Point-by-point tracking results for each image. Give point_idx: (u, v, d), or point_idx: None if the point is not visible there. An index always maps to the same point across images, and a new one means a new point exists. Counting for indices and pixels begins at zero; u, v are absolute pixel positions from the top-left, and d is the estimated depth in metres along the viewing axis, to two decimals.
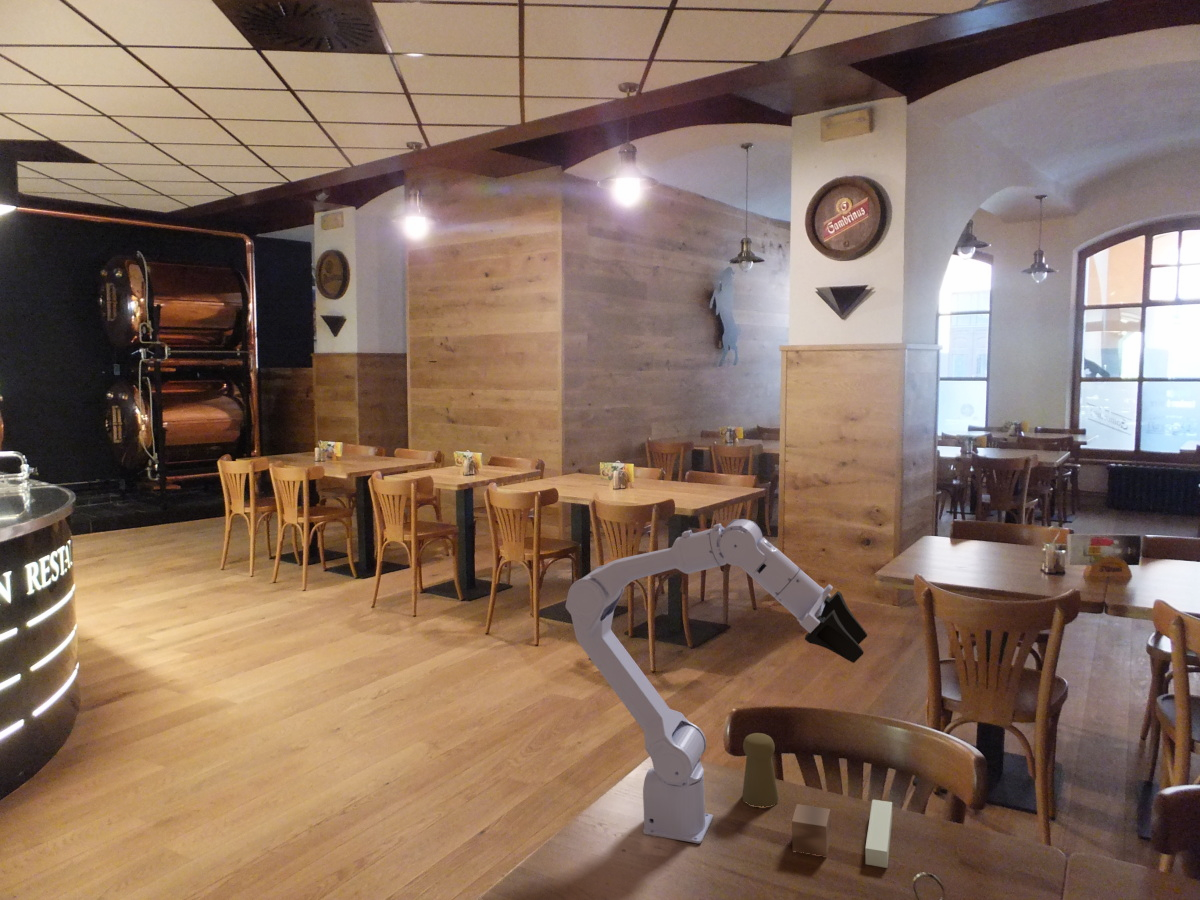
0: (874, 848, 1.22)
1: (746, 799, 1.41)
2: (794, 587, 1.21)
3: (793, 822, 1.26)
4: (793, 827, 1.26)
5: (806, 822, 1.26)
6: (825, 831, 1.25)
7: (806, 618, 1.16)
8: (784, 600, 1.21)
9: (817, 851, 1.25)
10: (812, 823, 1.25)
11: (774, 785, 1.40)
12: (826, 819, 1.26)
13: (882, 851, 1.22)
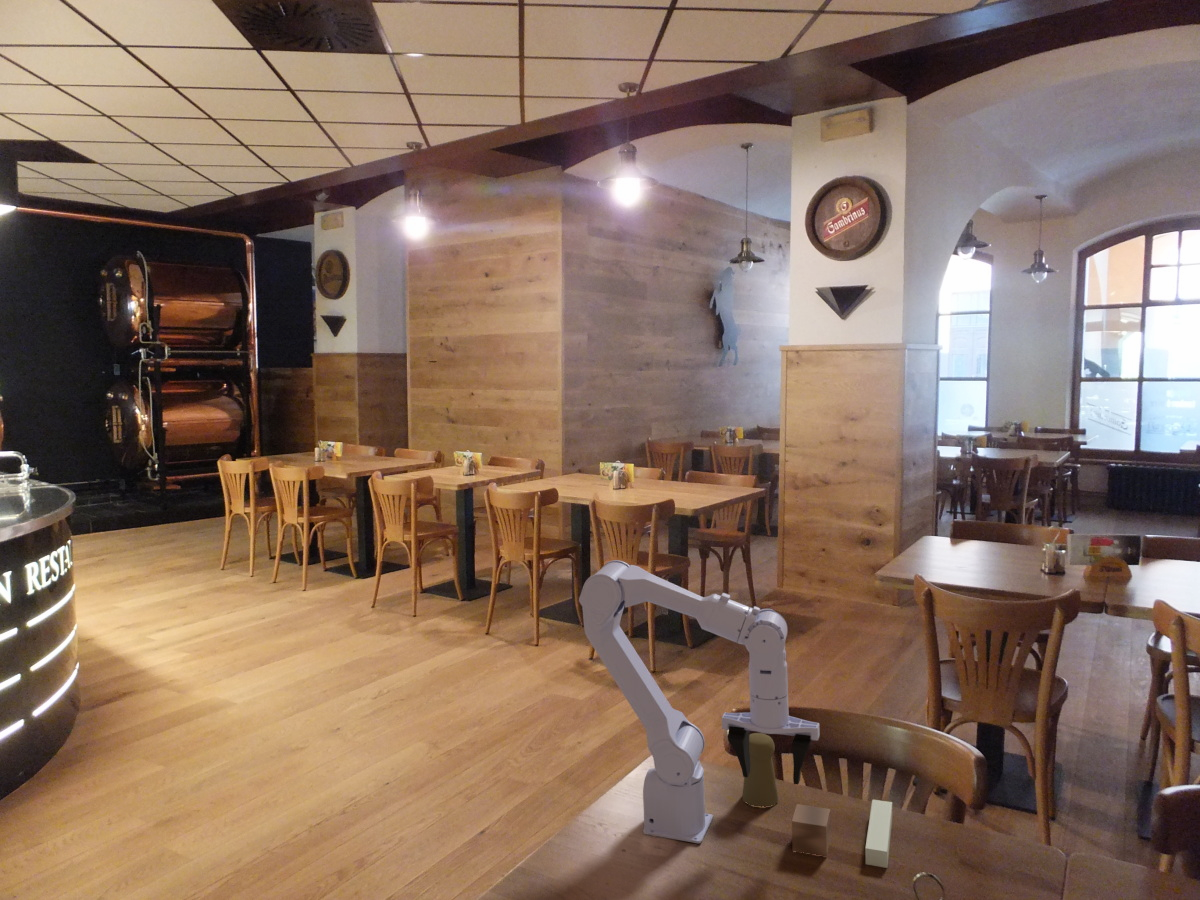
0: (874, 848, 1.22)
1: (746, 799, 1.41)
2: None
3: (793, 822, 1.26)
4: (793, 827, 1.26)
5: (806, 822, 1.26)
6: (825, 831, 1.25)
7: (818, 726, 1.26)
8: (783, 705, 1.25)
9: (817, 851, 1.25)
10: (812, 823, 1.25)
11: (774, 785, 1.40)
12: (826, 819, 1.26)
13: (882, 851, 1.22)
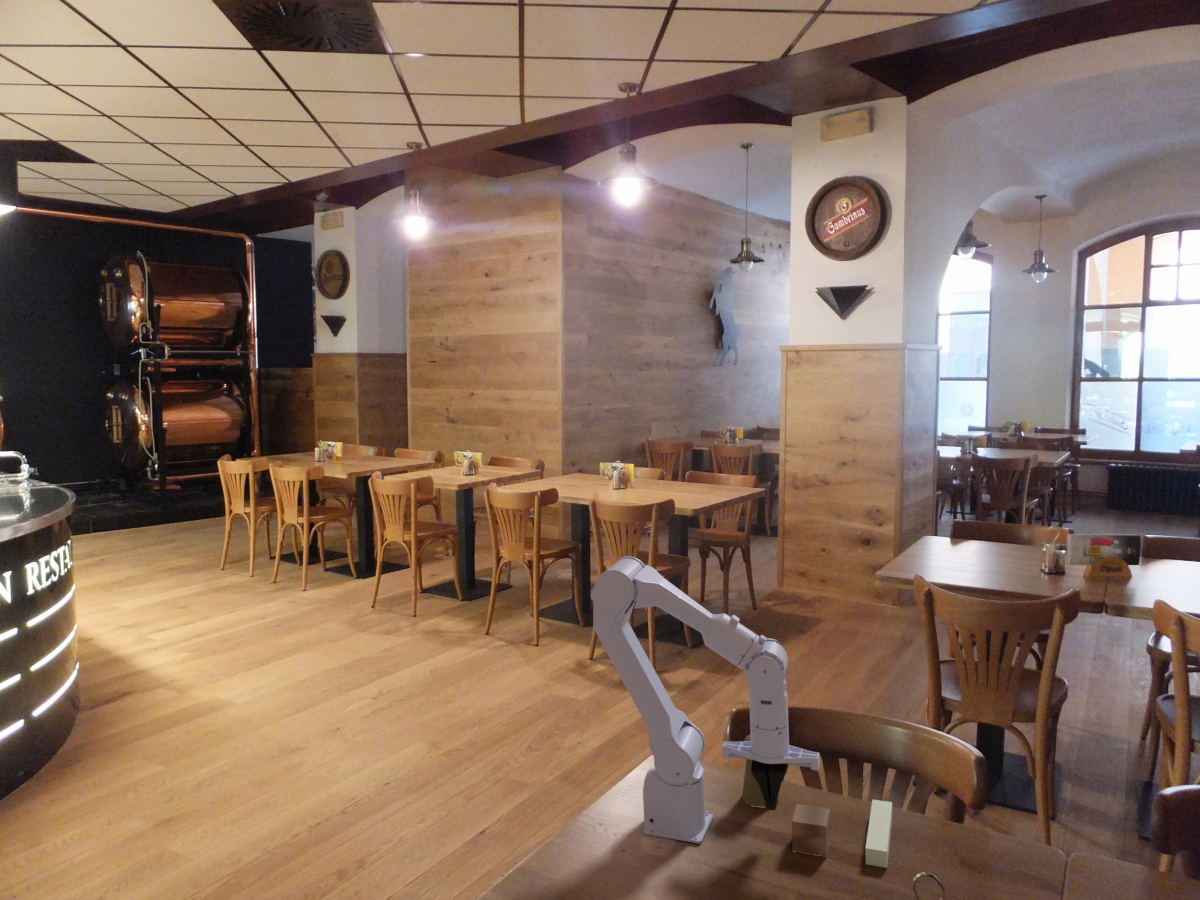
0: (874, 848, 1.22)
1: (746, 799, 1.41)
2: None
3: (793, 822, 1.26)
4: (793, 827, 1.26)
5: (806, 822, 1.26)
6: (825, 831, 1.25)
7: (818, 755, 1.26)
8: (783, 735, 1.26)
9: (817, 851, 1.25)
10: (812, 823, 1.25)
11: None
12: (826, 819, 1.26)
13: (882, 851, 1.22)
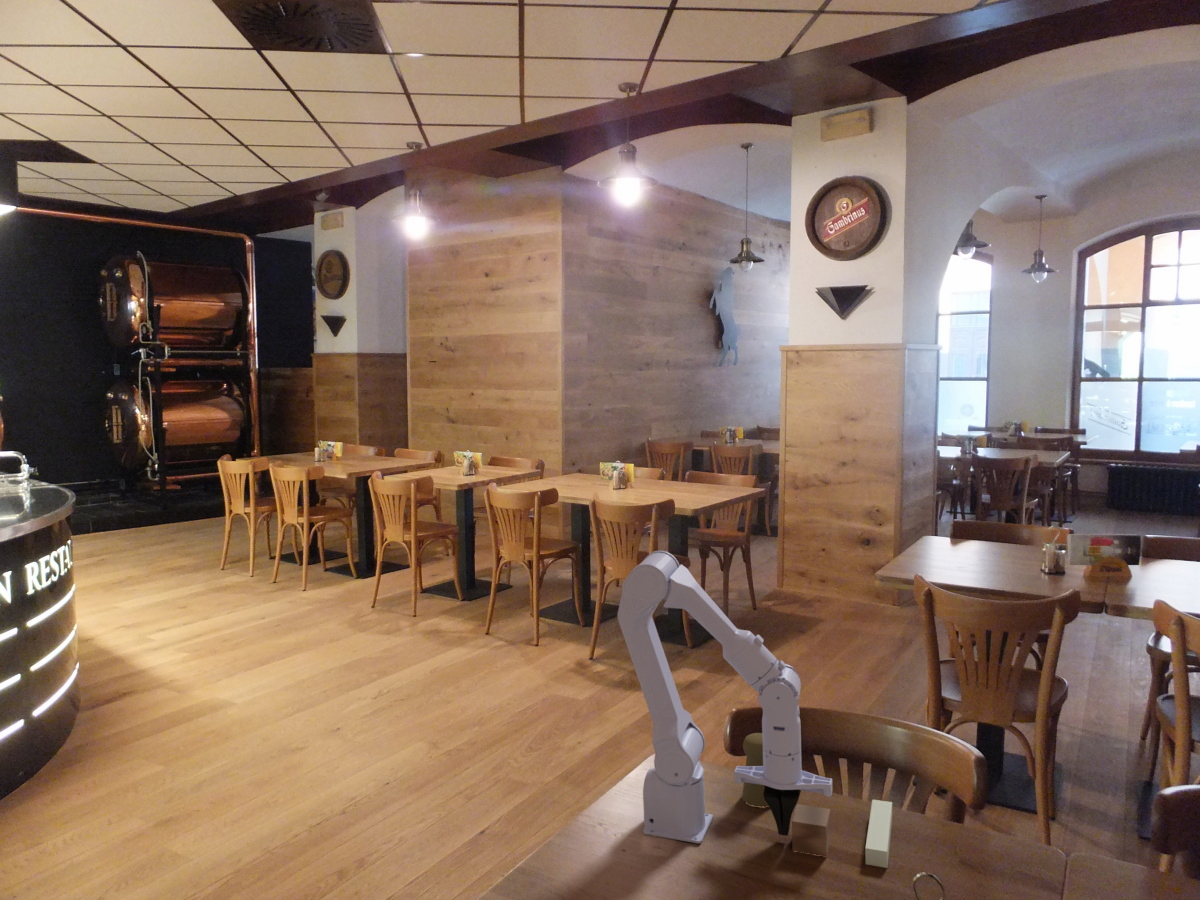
0: (874, 848, 1.22)
1: (746, 799, 1.41)
2: None
3: (793, 822, 1.26)
4: (793, 827, 1.26)
5: (806, 822, 1.26)
6: (825, 831, 1.25)
7: (831, 782, 1.26)
8: (796, 761, 1.26)
9: (817, 851, 1.25)
10: (812, 823, 1.25)
11: None
12: (826, 819, 1.26)
13: (882, 851, 1.22)
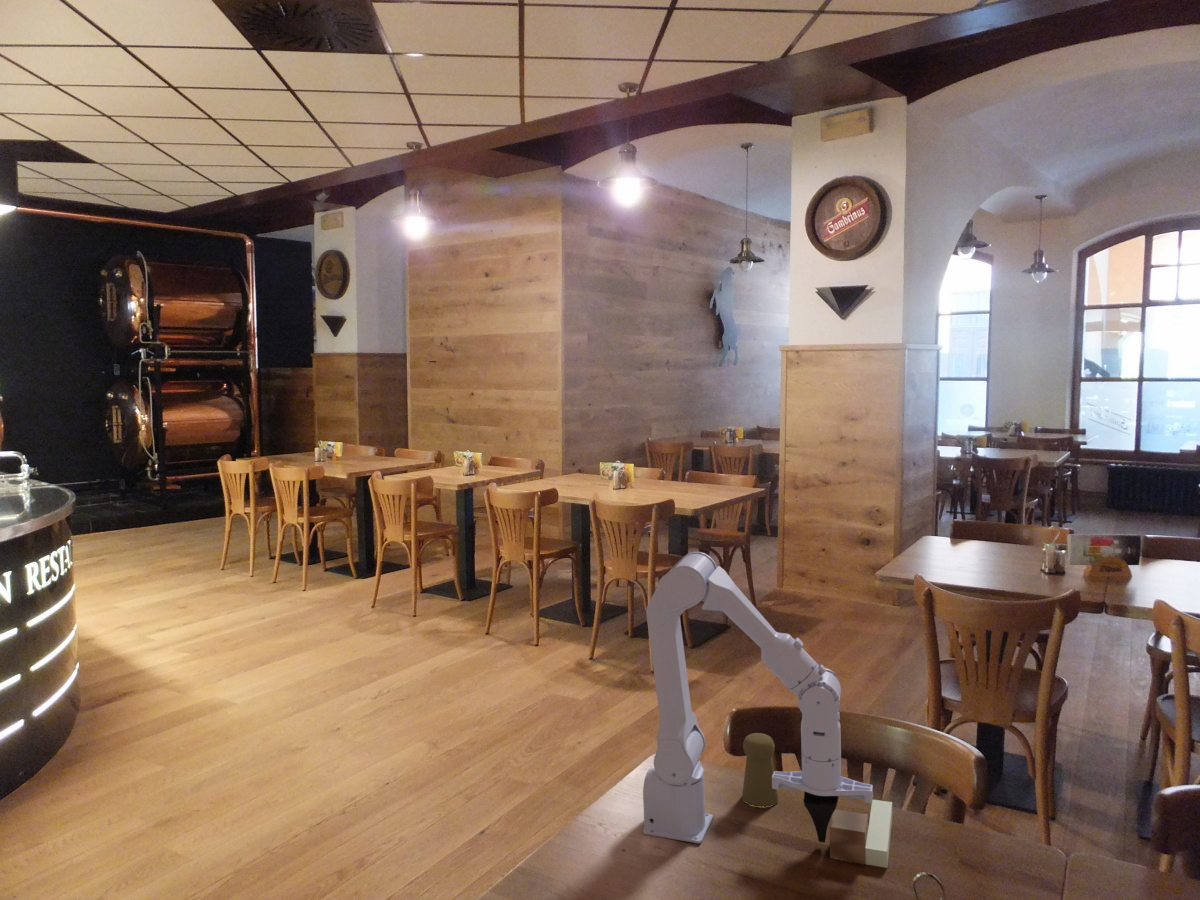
0: (874, 848, 1.22)
1: (746, 799, 1.41)
2: None
3: (831, 828, 1.24)
4: (831, 833, 1.24)
5: (844, 828, 1.24)
6: (864, 837, 1.22)
7: (872, 788, 1.24)
8: (836, 767, 1.24)
9: (855, 857, 1.23)
10: (851, 828, 1.23)
11: None
12: (864, 825, 1.24)
13: (882, 851, 1.22)
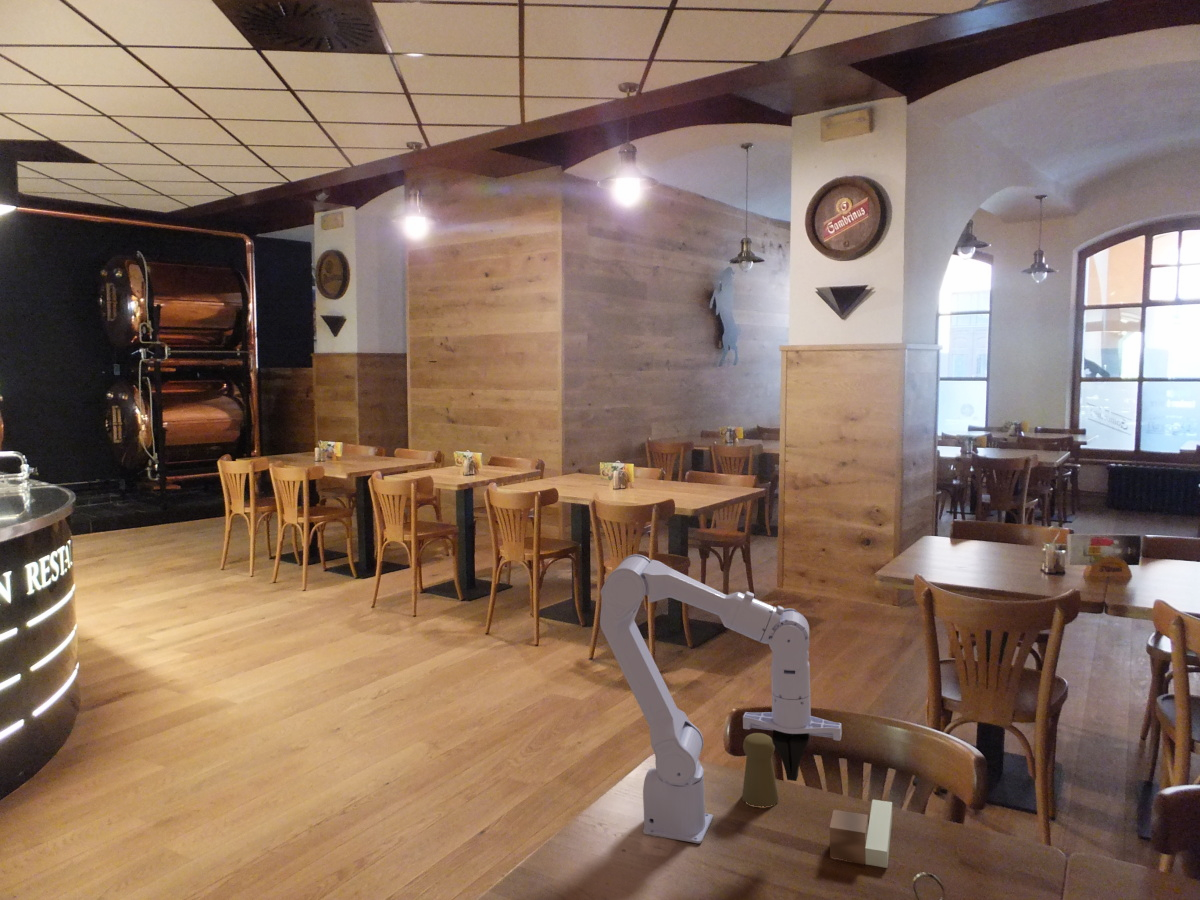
0: (874, 848, 1.22)
1: (746, 799, 1.41)
2: None
3: (831, 828, 1.24)
4: (831, 833, 1.24)
5: (844, 828, 1.24)
6: (864, 837, 1.22)
7: (841, 726, 1.26)
8: (805, 705, 1.25)
9: (855, 858, 1.23)
10: (851, 829, 1.23)
11: (774, 785, 1.40)
12: (864, 825, 1.24)
13: (882, 851, 1.22)
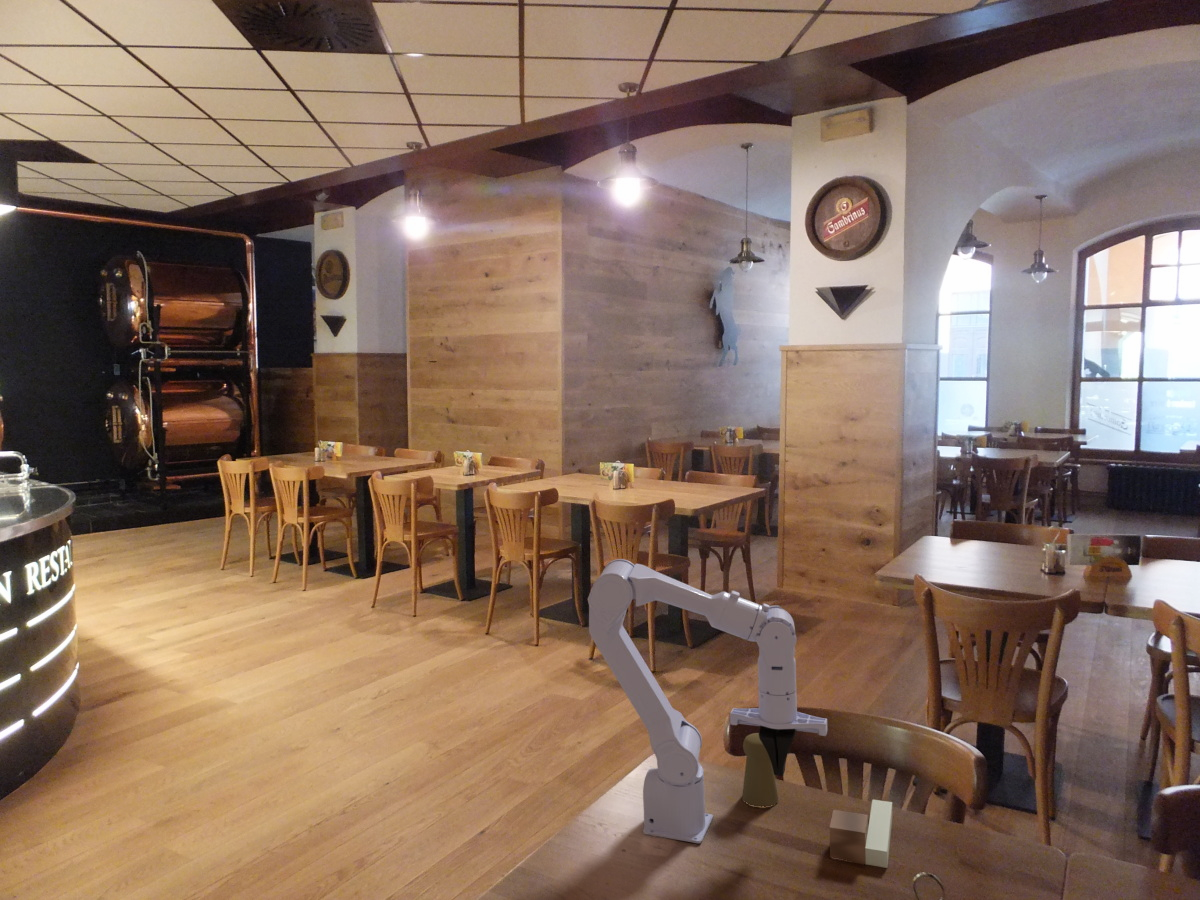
0: (874, 848, 1.22)
1: (746, 799, 1.41)
2: None
3: (831, 828, 1.24)
4: (831, 833, 1.24)
5: (844, 828, 1.24)
6: (864, 837, 1.22)
7: (826, 721, 1.27)
8: (791, 701, 1.27)
9: (855, 858, 1.23)
10: (851, 829, 1.23)
11: (774, 785, 1.40)
12: (864, 825, 1.24)
13: (882, 851, 1.22)
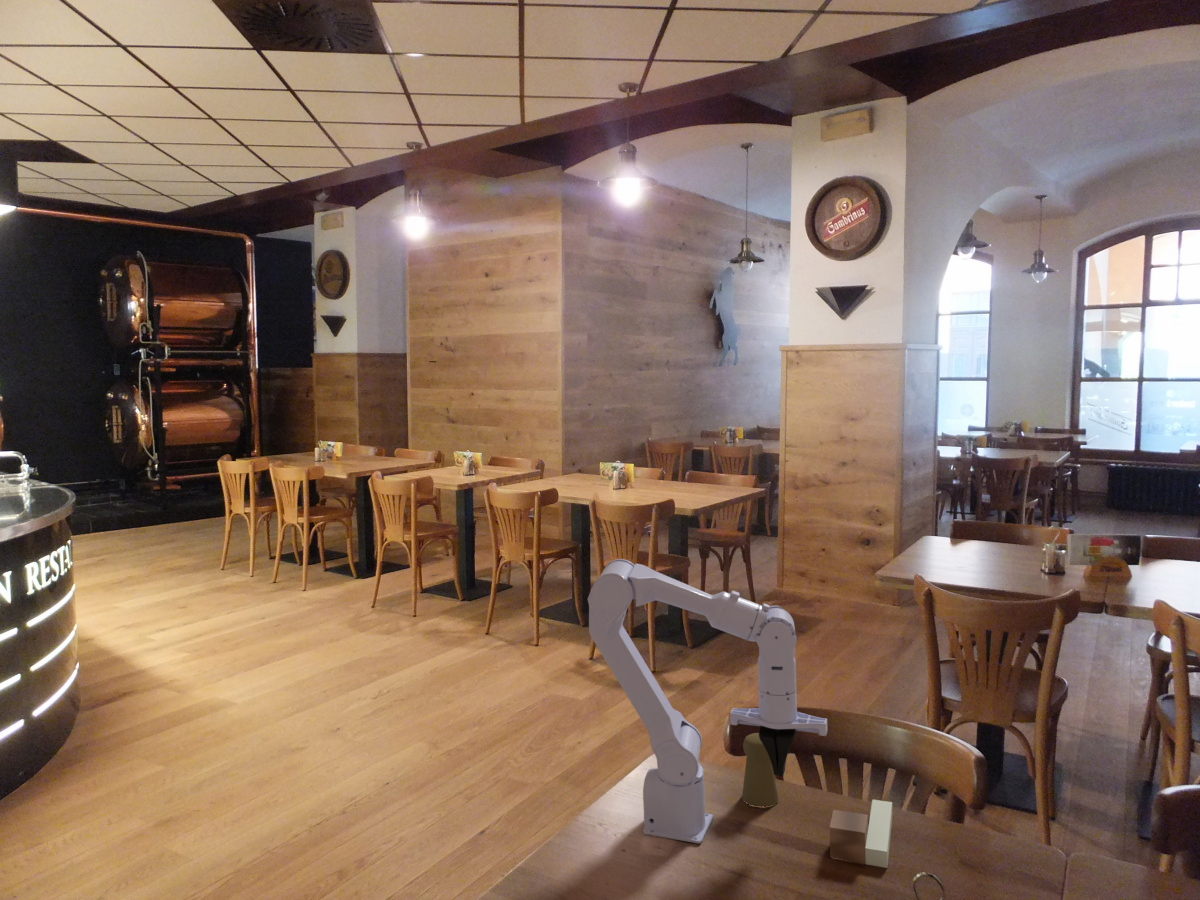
0: (874, 848, 1.22)
1: (746, 799, 1.41)
2: None
3: (831, 828, 1.24)
4: (831, 833, 1.24)
5: (844, 828, 1.24)
6: (864, 837, 1.22)
7: (826, 721, 1.27)
8: (791, 701, 1.27)
9: (855, 858, 1.23)
10: (851, 829, 1.23)
11: (774, 785, 1.40)
12: (864, 825, 1.24)
13: (882, 851, 1.22)
